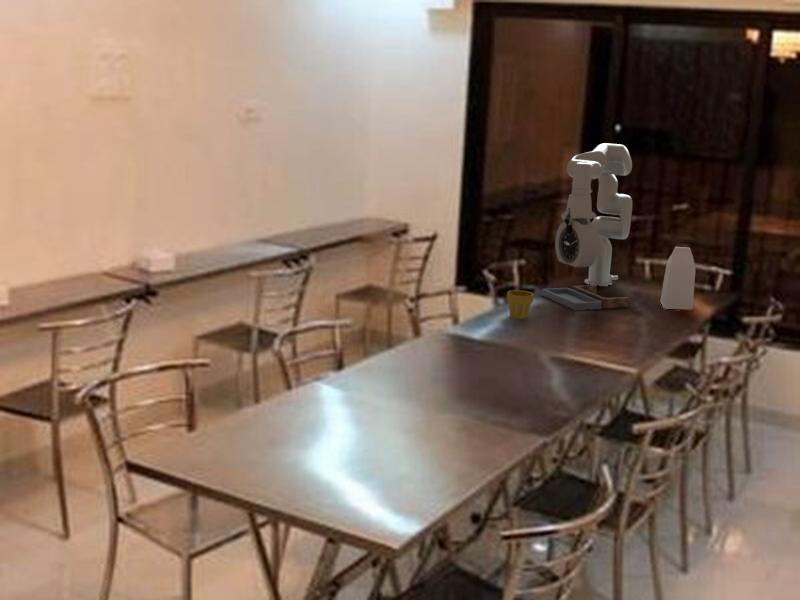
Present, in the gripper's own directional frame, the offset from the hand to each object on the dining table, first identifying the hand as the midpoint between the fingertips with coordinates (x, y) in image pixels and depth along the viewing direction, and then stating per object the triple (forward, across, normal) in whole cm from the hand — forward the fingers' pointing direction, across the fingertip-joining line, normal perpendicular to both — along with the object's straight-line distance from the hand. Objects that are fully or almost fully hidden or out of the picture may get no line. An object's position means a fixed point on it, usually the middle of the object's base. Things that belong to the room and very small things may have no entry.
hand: (577, 233), depth 449 cm
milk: (+30, -42, +17) cm, 54 cm away
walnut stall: (+30, -14, 0) cm, 33 cm away
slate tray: (+30, 0, 0) cm, 30 cm away
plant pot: (+30, +36, +19) cm, 51 cm away
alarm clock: (+13, 0, 0) cm, 13 cm away
